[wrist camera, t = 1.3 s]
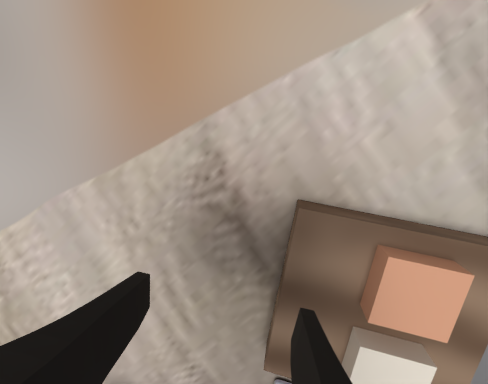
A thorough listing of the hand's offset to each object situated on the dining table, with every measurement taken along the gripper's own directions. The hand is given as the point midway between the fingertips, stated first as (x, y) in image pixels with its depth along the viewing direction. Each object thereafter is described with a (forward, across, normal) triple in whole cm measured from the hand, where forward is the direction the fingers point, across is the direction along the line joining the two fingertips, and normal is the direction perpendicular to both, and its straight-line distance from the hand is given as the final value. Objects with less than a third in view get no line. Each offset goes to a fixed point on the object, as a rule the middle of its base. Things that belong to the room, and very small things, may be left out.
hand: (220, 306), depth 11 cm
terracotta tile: (+7, -12, +2) cm, 14 cm away
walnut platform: (+10, -11, +6) cm, 16 cm away
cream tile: (+6, -12, +9) cm, 16 cm away
